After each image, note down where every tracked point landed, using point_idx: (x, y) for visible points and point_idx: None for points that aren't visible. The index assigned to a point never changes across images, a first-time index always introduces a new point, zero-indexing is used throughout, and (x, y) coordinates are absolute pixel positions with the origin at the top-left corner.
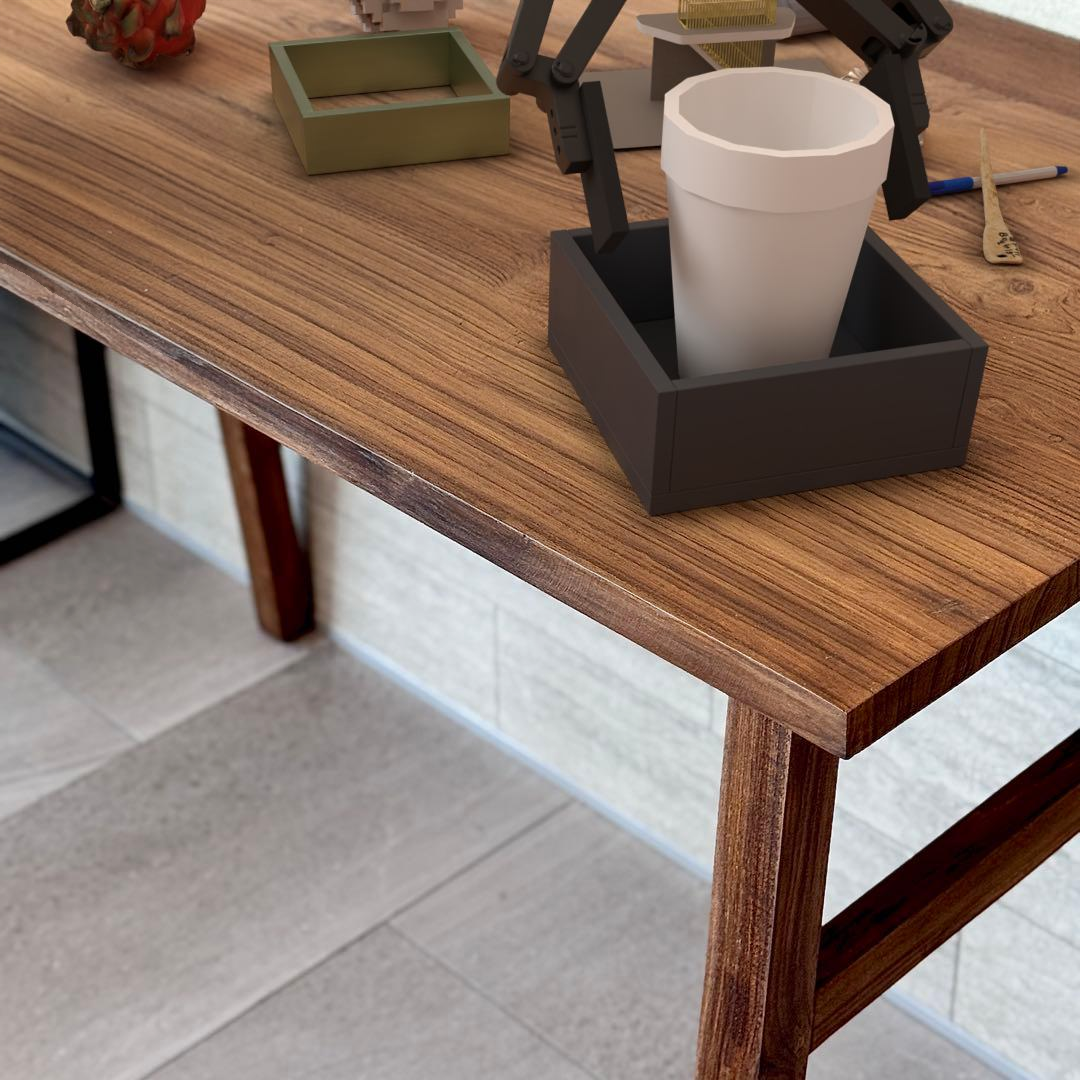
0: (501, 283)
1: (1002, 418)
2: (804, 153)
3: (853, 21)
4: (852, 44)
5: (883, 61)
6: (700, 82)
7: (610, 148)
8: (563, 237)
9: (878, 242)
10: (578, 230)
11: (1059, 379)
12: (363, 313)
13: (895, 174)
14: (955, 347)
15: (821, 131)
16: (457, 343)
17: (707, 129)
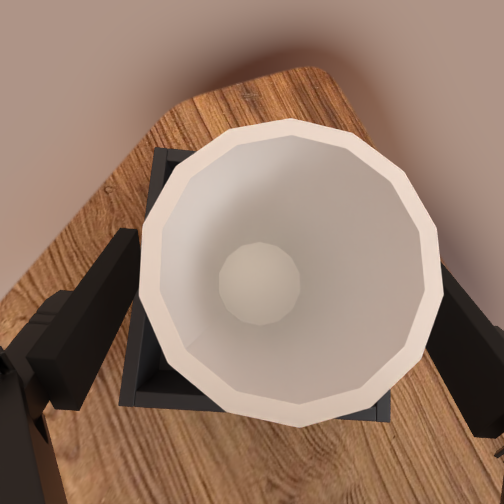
0: (352, 488)
1: (123, 217)
2: (324, 132)
3: (43, 464)
4: (53, 461)
5: (60, 356)
6: (355, 388)
7: (469, 315)
8: (384, 406)
9: (137, 312)
10: (368, 415)
11: (60, 242)
12: (452, 473)
13: (128, 275)
14: (179, 151)
15: (192, 319)
16: (402, 411)
17: (319, 368)
